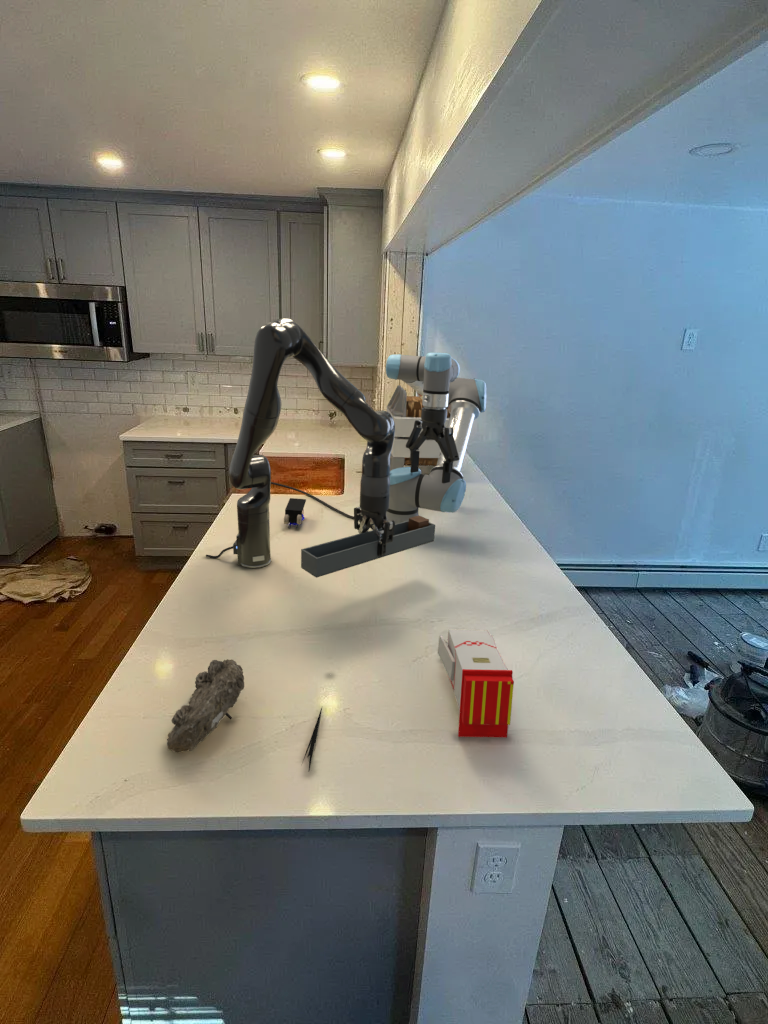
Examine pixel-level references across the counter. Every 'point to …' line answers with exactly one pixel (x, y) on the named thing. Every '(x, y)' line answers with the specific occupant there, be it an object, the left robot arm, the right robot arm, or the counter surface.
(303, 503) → the figurine character
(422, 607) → the counter surface
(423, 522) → the walnut block
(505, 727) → the toy
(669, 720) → the counter surface
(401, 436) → the white crate
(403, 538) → the trough
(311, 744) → the feather
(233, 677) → the fossil
